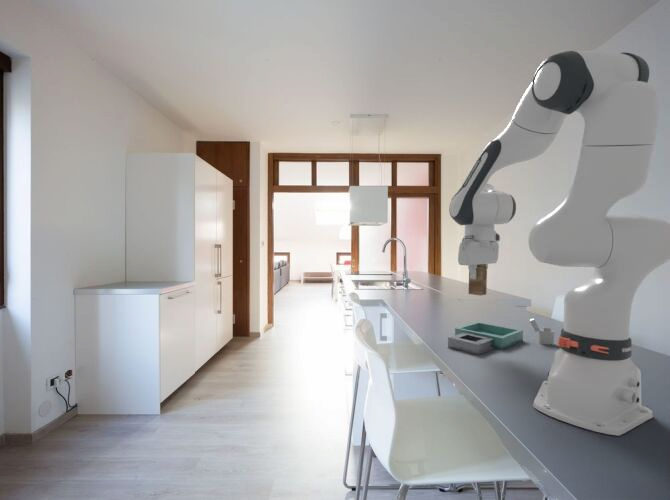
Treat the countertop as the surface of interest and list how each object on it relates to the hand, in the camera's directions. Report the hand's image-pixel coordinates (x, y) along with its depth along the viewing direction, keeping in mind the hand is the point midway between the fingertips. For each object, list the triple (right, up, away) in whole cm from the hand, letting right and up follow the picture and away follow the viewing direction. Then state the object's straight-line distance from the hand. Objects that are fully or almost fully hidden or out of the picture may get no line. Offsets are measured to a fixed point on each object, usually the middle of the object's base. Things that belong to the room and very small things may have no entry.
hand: (478, 278), depth 113 cm
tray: (+6, -22, +7) cm, 23 cm away
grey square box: (-3, -22, -3) cm, 22 cm away
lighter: (+23, -22, +3) cm, 32 cm away
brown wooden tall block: (0, -5, 0) cm, 5 cm away
